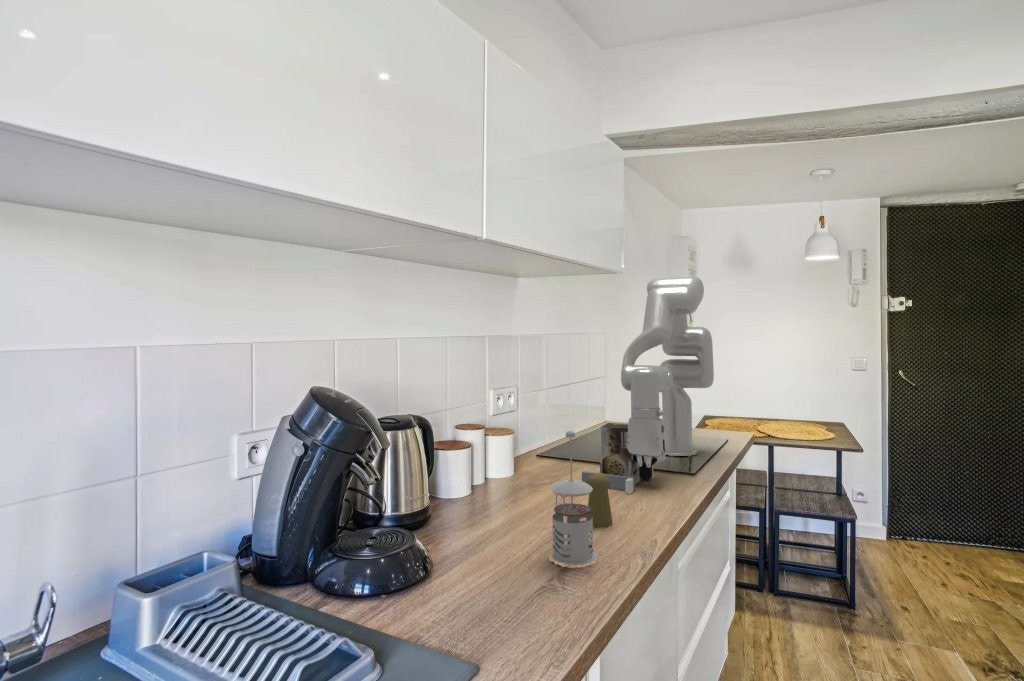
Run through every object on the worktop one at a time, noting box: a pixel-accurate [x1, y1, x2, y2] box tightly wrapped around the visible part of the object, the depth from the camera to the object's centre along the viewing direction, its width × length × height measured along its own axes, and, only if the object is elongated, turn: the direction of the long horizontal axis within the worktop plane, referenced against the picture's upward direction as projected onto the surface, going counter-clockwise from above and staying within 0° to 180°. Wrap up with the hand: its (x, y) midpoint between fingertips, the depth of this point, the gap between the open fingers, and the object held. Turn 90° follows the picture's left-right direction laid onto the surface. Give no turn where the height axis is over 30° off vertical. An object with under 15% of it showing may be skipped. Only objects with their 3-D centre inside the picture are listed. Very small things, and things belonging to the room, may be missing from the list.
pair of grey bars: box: [581, 461, 654, 495], centre depth 170 cm, size 18×15×4 cm
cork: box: [585, 474, 614, 528], centre depth 137 cm, size 6×6×11 cm
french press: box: [550, 430, 597, 565], centre depth 118 cm, size 10×12×25 cm
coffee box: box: [600, 422, 641, 485], centre depth 169 cm, size 9×6×16 cm
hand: (646, 480), depth 165 cm, fingers closed
